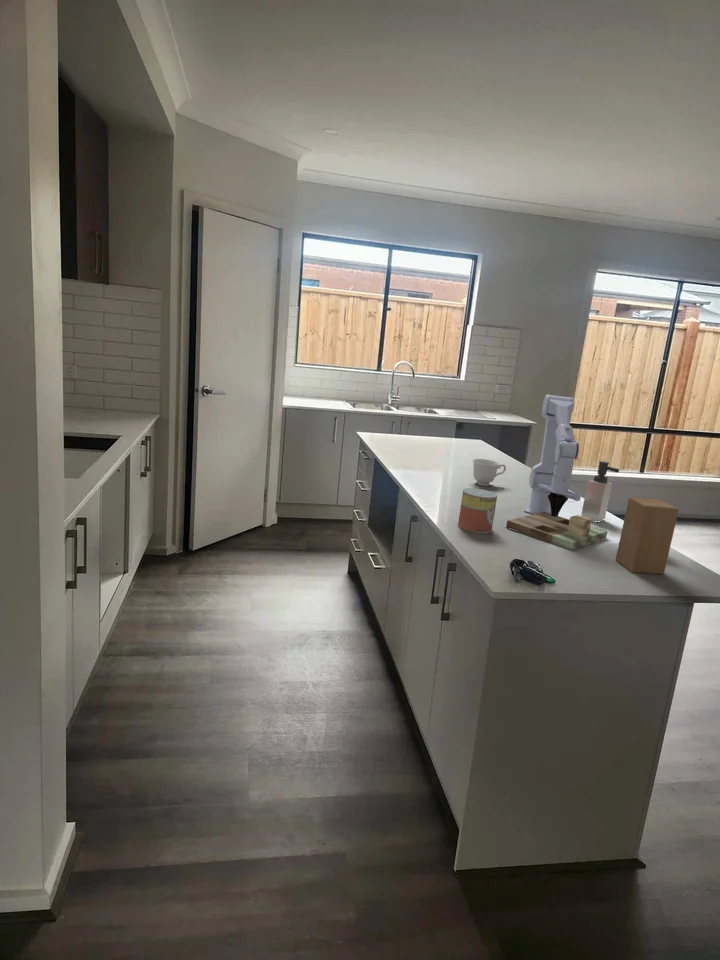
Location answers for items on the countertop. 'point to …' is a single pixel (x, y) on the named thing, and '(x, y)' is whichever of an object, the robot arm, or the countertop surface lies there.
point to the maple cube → (579, 525)
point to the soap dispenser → (598, 494)
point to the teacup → (486, 471)
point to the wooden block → (646, 535)
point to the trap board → (554, 530)
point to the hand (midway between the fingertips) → (554, 515)
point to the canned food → (477, 510)
